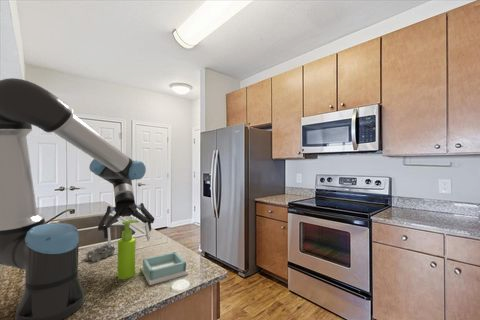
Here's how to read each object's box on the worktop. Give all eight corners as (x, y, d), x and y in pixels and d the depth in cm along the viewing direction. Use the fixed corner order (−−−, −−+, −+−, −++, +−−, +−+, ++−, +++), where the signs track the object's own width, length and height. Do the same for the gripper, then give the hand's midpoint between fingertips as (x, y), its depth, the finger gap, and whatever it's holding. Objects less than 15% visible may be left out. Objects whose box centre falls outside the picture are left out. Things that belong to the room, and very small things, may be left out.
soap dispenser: (140, 274, 86) (141, 221, 86) (120, 281, 81) (121, 224, 81) (133, 268, 90) (134, 218, 90) (114, 275, 85) (115, 221, 85)
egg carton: (94, 263, 95) (94, 253, 95) (83, 259, 98) (83, 250, 98) (117, 253, 105) (117, 245, 105) (106, 250, 108) (106, 242, 108)
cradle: (149, 285, 78) (149, 273, 78) (140, 269, 90) (141, 258, 90) (188, 274, 86) (188, 263, 86) (175, 260, 98) (175, 250, 98)
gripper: (152, 199, 108) (161, 240, 96) (89, 204, 94) (90, 253, 82) (155, 189, 104) (165, 231, 92) (90, 193, 90) (91, 243, 77)
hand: (130, 242), depth 87 cm, fingers open, 13 cm apart
